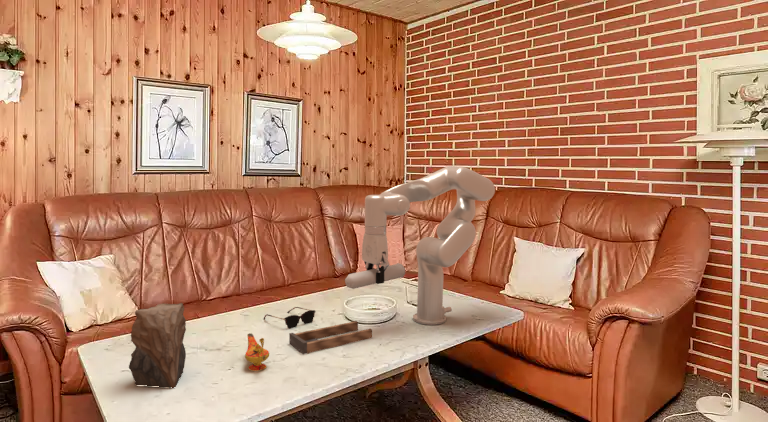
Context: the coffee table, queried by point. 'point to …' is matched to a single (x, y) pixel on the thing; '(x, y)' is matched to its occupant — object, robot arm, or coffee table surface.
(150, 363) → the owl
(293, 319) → the sunglasses
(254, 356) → the magic lamp
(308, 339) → the trap channel
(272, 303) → the coffee table surface
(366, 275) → the tube
